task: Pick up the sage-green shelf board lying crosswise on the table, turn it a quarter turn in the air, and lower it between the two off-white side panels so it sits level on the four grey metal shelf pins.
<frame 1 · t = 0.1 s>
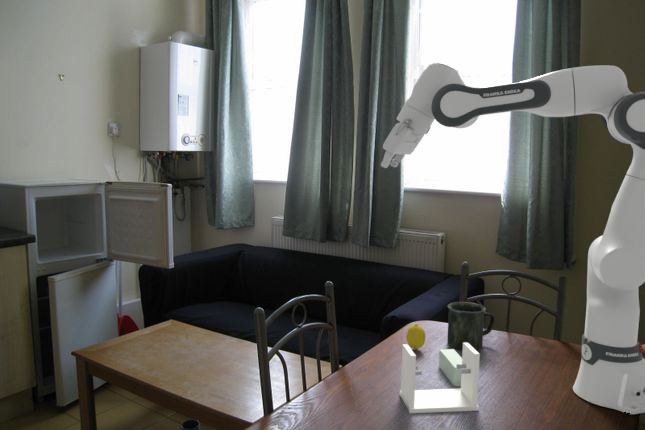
hand: (388, 166, 139), 54 cm above the table, tool tilted 30°, fingers open, 8 cm apart
shelf board: (453, 376, 135), on the table
mug: (469, 345, 157), on the table
shelf unit: (438, 402, 120), on the table
lemon: (415, 350, 152), on the table
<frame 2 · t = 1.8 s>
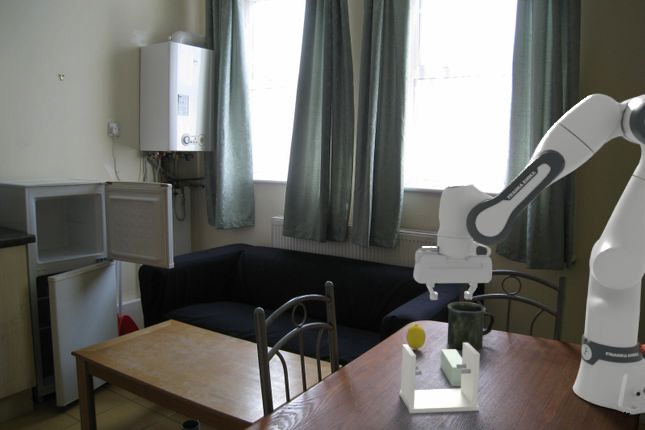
hand: (450, 299, 133), 20 cm above the table, tool pointing down, fingers open, 8 cm apart
nothing on the table moved.
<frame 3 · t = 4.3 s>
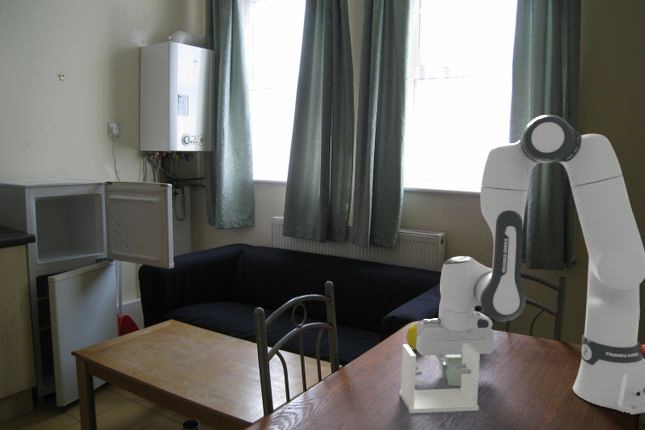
hand: (453, 369, 135), 2 cm above the table, tool pointing down, fingers closed on shelf board, 4 cm apart
shelf board: (453, 375, 135), on the table, touching gripper
everything else where it was.
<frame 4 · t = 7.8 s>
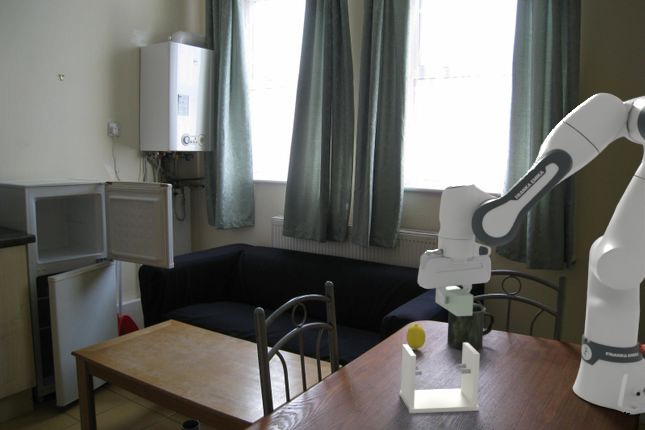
hand: (453, 302, 129), 21 cm above the table, tool pointing down, fingers closed on shelf board, 4 cm apart
shelf board: (453, 308, 129), point 19 cm above the table, touching gripper
everything else where it was.
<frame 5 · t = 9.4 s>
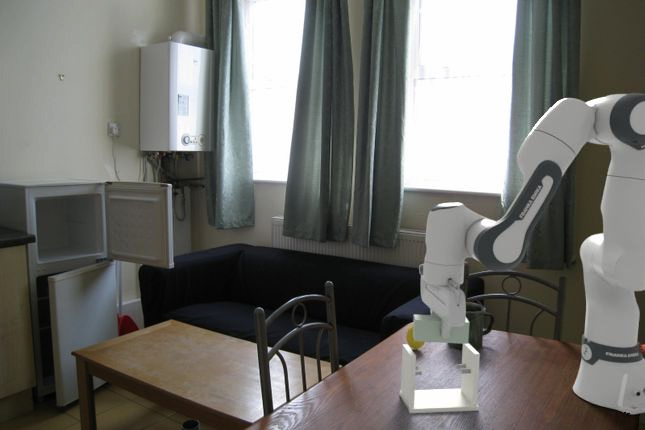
hand: (440, 332, 118), 17 cm above the table, tool pointing down, fingers closed on shelf board, 4 cm apart
shelf board: (439, 339, 118), point 15 cm above the table, touching gripper
everything else where it was.
when the fingers open (11 cm above the table, at t = 11.0 s): shelf board stays where it is, resting on shelf unit.
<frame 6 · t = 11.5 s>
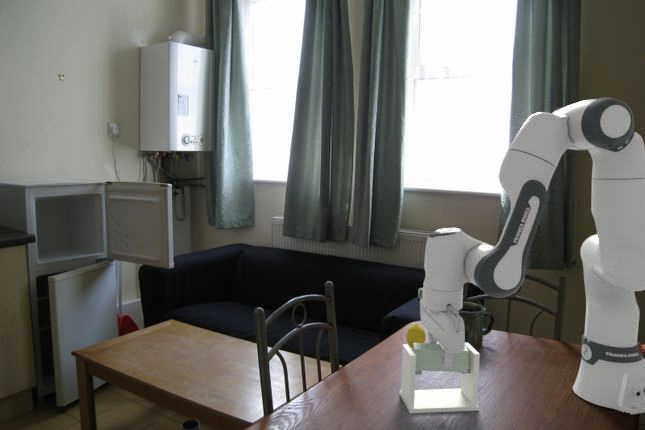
hand: (440, 356, 119), 11 cm above the table, tool pointing down, fingers open, 8 cm apart
shelf board: (439, 367, 119), point 9 cm above the table, touching shelf unit
everything else where it was.
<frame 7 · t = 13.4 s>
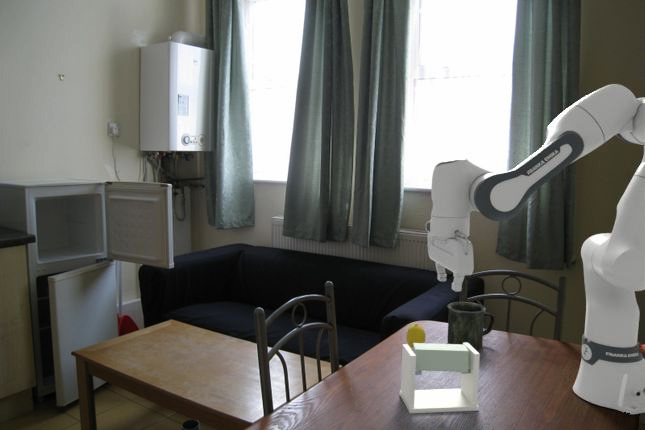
hand: (449, 285, 122), 27 cm above the table, tool pointing down, fingers open, 8 cm apart
nothing on the table moved.
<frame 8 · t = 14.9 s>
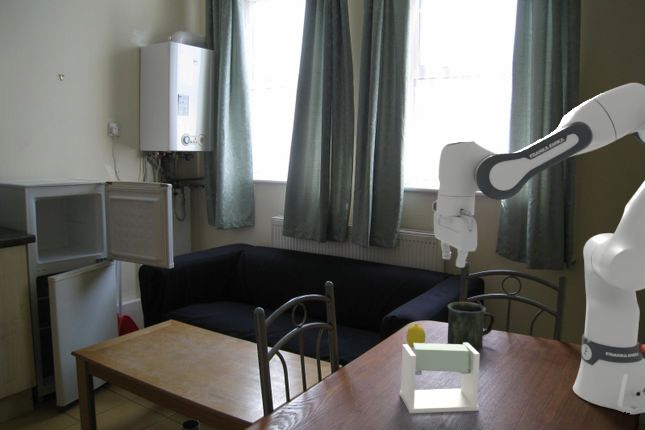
hand: (453, 262, 127), 31 cm above the table, tool pointing down, fingers open, 8 cm apart
nothing on the table moved.
at the end: shelf board 0.0 cm off-centre on the shelf unit, point 8.5 cm above the shelf unit's base; shelf board tilted 0°; the gripper is holding nothing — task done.
